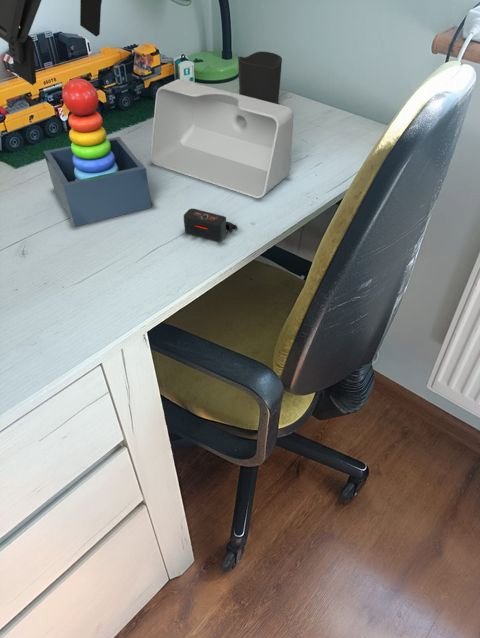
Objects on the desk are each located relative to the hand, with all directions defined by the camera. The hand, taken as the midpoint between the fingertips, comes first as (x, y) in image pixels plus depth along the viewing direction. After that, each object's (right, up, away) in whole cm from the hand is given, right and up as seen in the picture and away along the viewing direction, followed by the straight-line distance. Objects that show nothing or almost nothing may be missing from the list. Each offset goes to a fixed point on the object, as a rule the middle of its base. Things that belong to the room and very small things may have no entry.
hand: (59, 53), depth 70 cm
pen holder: (+27, +15, +47) cm, 57 cm away
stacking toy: (+1, -15, +17) cm, 23 cm away
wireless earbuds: (+20, -22, +11) cm, 32 cm away
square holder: (+1, -15, +17) cm, 23 cm away
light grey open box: (+21, -5, +27) cm, 35 cm away
